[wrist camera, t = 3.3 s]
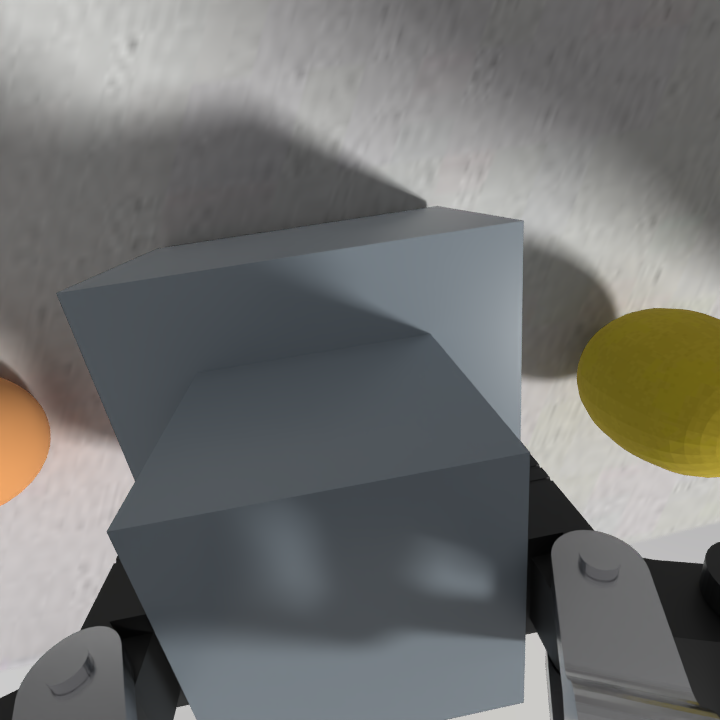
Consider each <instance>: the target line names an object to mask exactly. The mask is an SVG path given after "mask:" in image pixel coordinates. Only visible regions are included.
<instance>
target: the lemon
mask: <svg viewBox="0 0 720 720" xmlns="http://www.w3.org/2000/svg"><path fill="white" fill-rule="evenodd" d="M577 384H578V390H579V395H580V398H581V401H582V403H583V405H584V406H585V408H586V410H587V412H588V414H589V415H590V417H591V419H592V420H593V421H594V423H595V424H596V425H597V426H598V427H599V428H600V429H601V430H602V431H603V432H604V433H605V434H606V435H608V436H609V437H610V438H611V439H612V440H613V441H614V442H616V443H617V444H618V445H619V446H621V447H622V448H623V449H625V450H626V451H628V452H630V453H631V454H633V455H635V456H637V457H639V458H641V459H643V460H645V461H647V462H649V463H652V464H654V465H657V466H659V467H661V468H664V469H666V470H669V471H672V472H675V473H679V474H682V475H689V476H698V477H707V478H710V477H720V319H717V318H714V317H712V316H709V315H706V314H703V313H699V312H695V311H690V310H683V309H666V308H653V309H646V310H641V311H637V312H632V313H629V314H626V315H624V316H622V317H619V318H617V319H615V320H613V321H611V322H610V323H608V324H607V325H606V326H604V327H603V328H601V329H600V330H599V331H598V332H597V333H596V334H595V335H594V336H593V337H592V338H591V339H590V340H589V342H588V344H587V345H586V347H585V348H584V350H583V352H582V355H581V358H580V360H579V363H578V370H577Z"/></svg>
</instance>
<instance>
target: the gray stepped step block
mask: <svg viewBox="0 0 720 720" xmlns="http://www.w3.org/2000/svg"><path fill="white" fill-rule="evenodd" d="M523 228H524V221H523V220H517V219H511V218H505V217H499V216H493V215H487V214H481V213H475V212H469V211H463V210H457V209H451V208H445V207H440V206H435V207H429V208H422V209H415V210H409V211H402V212H396V213H389V214H382V215H376V216H369V217H363V218H356V219H349V220H343V221H336V222H330V223H323V224H316V225H310V226H303V227H297V228H290V229H283V230H277V231H270V232H264V233H257V234H250V235H244V236H237V237H231V238H224V239H217V240H211V241H204V242H197V243H191V244H184V245H178V246H171V247H164V248H158V249H156V250H153V251H151V252H149V253H146V254H144V255H142V256H140V257H137V258H135V259H133V260H131V261H128V262H126V263H124V264H121V265H119V266H117V267H115V268H112V269H110V270H108V271H106V272H103V273H101V274H99V275H96V276H94V277H92V278H90V279H87V280H85V281H83V282H80V283H78V284H76V285H74V286H71V287H69V288H67V289H65V290H62V291H60V292H58V293H56V294H57V296H58V298H59V301H60V303H61V306H62V308H63V310H64V313H65V315H66V318H67V320H68V322H69V325H70V327H71V329H72V332H73V334H74V337H75V339H76V341H77V344H78V346H79V349H80V351H81V353H82V356H83V358H84V360H85V363H86V365H87V368H88V370H89V372H90V375H91V377H92V380H93V382H94V384H95V387H96V389H97V391H98V394H99V396H100V399H101V401H102V403H103V406H104V408H105V411H106V413H107V415H108V418H109V420H110V422H111V425H112V427H113V430H114V432H115V434H116V437H117V439H118V442H119V444H120V446H121V449H122V451H123V453H124V456H125V458H126V461H127V463H128V465H129V468H130V470H131V473H132V475H133V477H134V480H135V483H134V485H133V486H132V488H131V490H130V492H129V494H128V495H127V497H126V499H125V501H124V502H123V504H122V506H121V508H120V509H119V511H118V513H117V515H116V516H115V518H114V520H113V522H112V523H111V525H110V527H109V529H108V530H107V534H108V536H109V538H110V540H111V542H112V544H113V546H114V548H115V550H116V552H117V554H118V556H119V559H120V561H121V563H122V565H123V567H124V569H125V571H126V573H127V575H128V577H129V579H130V582H131V584H132V586H133V588H134V590H135V592H136V594H137V596H138V598H139V600H140V602H141V605H142V607H143V609H144V611H145V613H146V615H147V617H148V619H149V621H150V623H151V625H152V627H153V630H154V632H155V634H156V636H157V638H158V640H159V642H160V644H161V646H162V648H163V650H164V653H165V655H166V657H167V659H168V661H169V663H170V665H171V667H172V669H173V671H174V673H175V675H176V678H177V680H178V682H179V684H180V686H181V688H182V690H183V692H184V694H185V696H186V698H187V701H188V703H189V705H190V707H191V709H192V711H193V713H194V715H195V717H196V719H197V720H447V719H452V718H456V717H461V716H465V715H470V714H474V713H479V712H483V711H487V710H492V709H497V708H501V707H506V706H510V705H515V704H519V703H523V702H524V668H525V630H526V591H527V551H528V512H529V473H530V452H529V451H528V449H527V448H526V447H525V446H524V445H523V443H522V442H521V441H520V432H521V364H522V296H523Z"/></svg>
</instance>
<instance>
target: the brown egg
mask: <svg viewBox="0 0 720 720" xmlns="http://www.w3.org/2000/svg"><path fill="white" fill-rule="evenodd" d="M49 447H50V426H49V422H48V419H47V417H46V414H45V412H44V410H43V408H42V407H41V405H40V404H39V403H38V401H37V400H36V399H35V398H34V397H33V396H32V395H31V394H30V393H28V392H27V391H26V390H25V389H23V388H22V387H20V386H18V385H17V384H15V383H13V382H11V381H8V380H6V379H3V378H0V506H1V505H3V504H5V503H7V502H8V501H10V500H11V499H12V498H14V497H15V496H17V495H18V494H19V493H21V492H22V491H23V490H24V489H25V488H26V487H27V486H28V485H29V484H30V483H31V482H32V481H33V480H34V478H35V477H36V476H37V474H38V473H39V472H40V470H41V468H42V466H43V464H44V462H45V460H46V458H47V455H48V451H49Z"/></svg>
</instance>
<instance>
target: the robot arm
mask: <svg viewBox="0 0 720 720" xmlns="http://www.w3.org/2000/svg"><path fill="white" fill-rule="evenodd" d="M535 632H537V633H538V635H539V637H540V639H541V641H542V643H543V645H544V646H545V649H546V663H545V664H546V676H547V688H548V700H549V711H550V720H720V542H718V543H716V544H714V545H712V546H711V547H710V548H709V549H708V551H707V553H706V556H705V560H704V564H698V563H686V562H673V561H660V560H652V559H646V558H642V557H641V556H640V554H639V553H638V552H637V551H636V550H634V549H633V548H632V547H631V546H630V545H628V544H627V543H625V542H624V541H622V540H620V539H618V538H616V537H614V536H611V535H609V534H606V533H602V532H598V531H594V530H593V529H592V527H591V526H590V525H589V524H588V523H587V521H586V520H585V519H584V518H583V517H582V515H581V514H580V513H579V512H578V511H577V509H576V508H575V507H574V506H573V505H572V503H571V502H570V501H569V500H568V499H567V497H566V496H565V495H564V494H563V493H562V491H561V490H560V489H559V488H558V487H557V485H556V484H555V483H554V482H553V481H551V480H550V477H549V476H548V475H547V473H546V472H545V471H544V470H543V469H542V468H540V467H539V464H538V463H537V461H536V460H535V459H534V458H533V457H532V455H531V454H530V473H529V512H528V551H527V591H526V630H525V635H526V634H531V633H535ZM185 705H189V703H188V701H187V698H186V696H185V694H184V692H183V690H182V688H181V686H180V684H179V682H178V680H177V678H176V675H175V673H174V671H173V669H172V667H171V665H170V663H169V661H168V659H167V657H166V655H165V653H164V650H163V648H162V646H161V644H160V642H159V640H158V638H157V636H156V634H155V632H154V630H153V627H152V625H151V623H150V621H149V619H148V617H147V615H146V613H145V611H144V609H143V607H142V605H141V602H140V600H139V598H138V596H137V594H136V592H135V590H134V588H133V586H132V584H131V582H130V579H129V577H128V575H127V573H126V571H125V569H124V567H123V565H122V563H121V561H120V559H119V556H117V558H116V563H115V564H113V566H112V568H111V570H110V572H109V574H108V576H107V578H106V580H105V582H104V584H103V586H102V588H101V590H100V592H99V594H98V596H97V598H96V600H95V602H94V604H93V606H92V608H91V610H90V612H89V614H88V616H87V618H86V620H85V622H84V624H83V626H82V628H81V630H80V631H78V632H76V633H74V634H72V635H70V636H68V637H66V638H65V639H63V640H62V641H60V642H59V643H57V644H56V645H55V646H53V647H52V648H51V649H50V650H48V651H47V652H46V653H45V654H44V655H43V656H42V657H41V658H40V659H39V660H38V661H37V662H36V663H35V665H34V666H33V667H32V668H31V669H30V671H29V672H28V674H27V675H26V677H25V678H24V680H23V682H22V683H21V686H20V688H19V689H18V690H16V691H14V692H12V693H10V694H8V695H6V696H4V697H2V698H0V720H173V719H174V715H175V711H176V707H180V706H185Z"/></svg>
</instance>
